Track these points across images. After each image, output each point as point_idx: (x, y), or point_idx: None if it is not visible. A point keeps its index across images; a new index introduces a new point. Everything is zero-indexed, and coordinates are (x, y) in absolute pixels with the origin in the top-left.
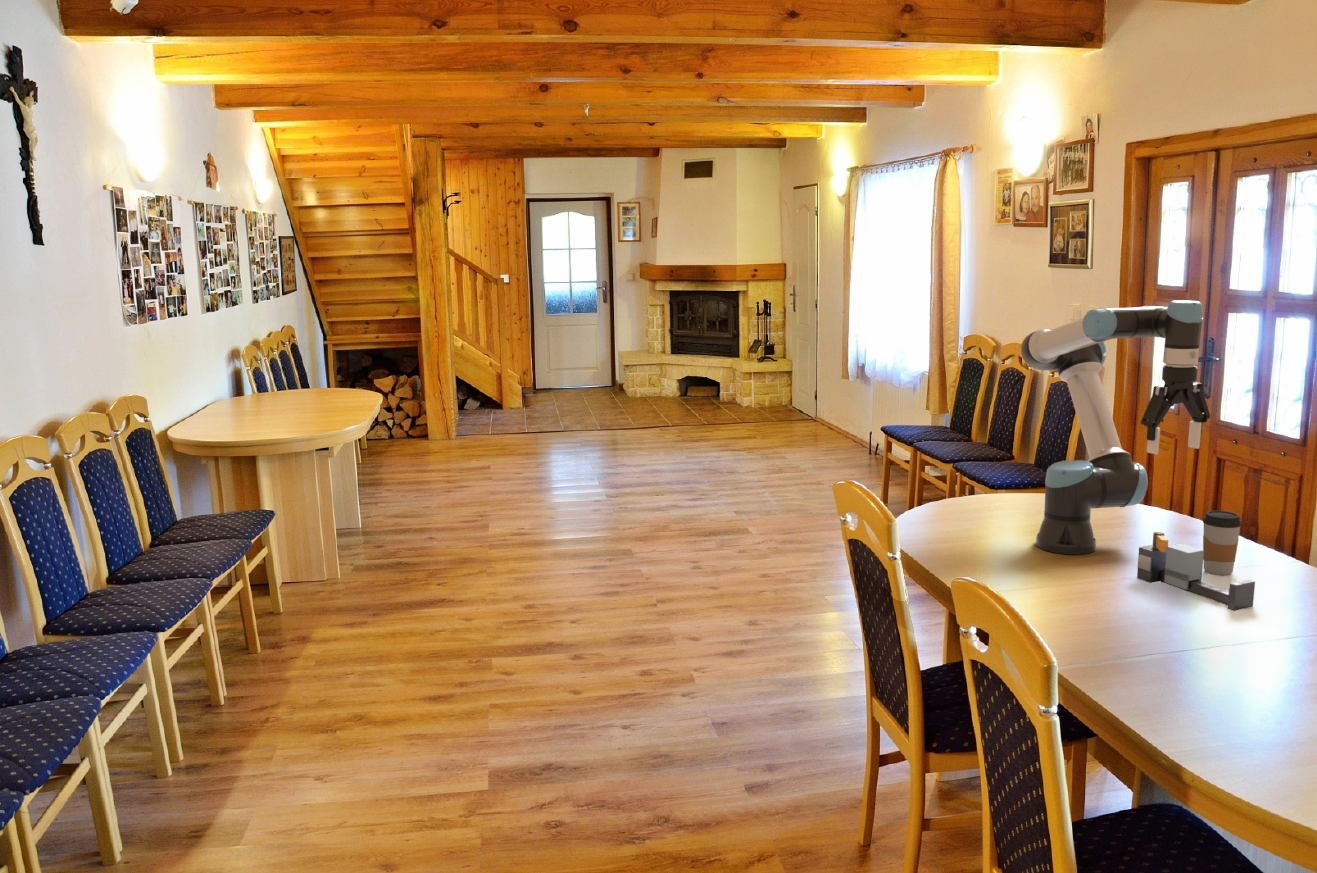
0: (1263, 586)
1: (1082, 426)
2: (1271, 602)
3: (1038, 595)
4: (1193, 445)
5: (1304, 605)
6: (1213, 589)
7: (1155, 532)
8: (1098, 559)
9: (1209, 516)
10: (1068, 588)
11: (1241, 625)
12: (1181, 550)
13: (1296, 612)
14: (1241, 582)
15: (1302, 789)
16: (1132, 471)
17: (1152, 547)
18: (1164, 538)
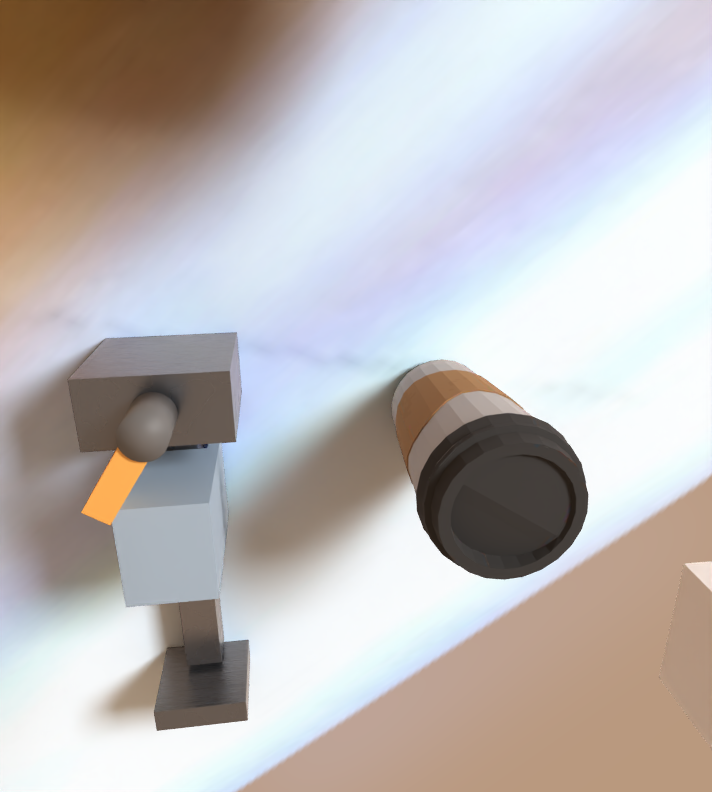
0: (437, 548)
1: None
2: (331, 646)
3: None
4: (686, 659)
5: (390, 684)
6: (183, 607)
7: (137, 420)
8: (127, 59)
9: (438, 503)
10: None
11: (100, 738)
12: (125, 573)
13: (322, 712)
14: (198, 715)
15: None
16: None
17: (126, 406)
18: (112, 501)
